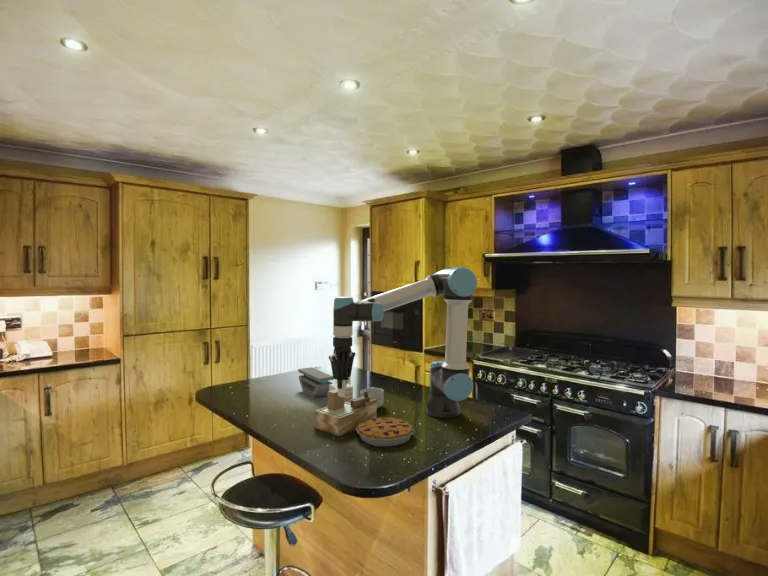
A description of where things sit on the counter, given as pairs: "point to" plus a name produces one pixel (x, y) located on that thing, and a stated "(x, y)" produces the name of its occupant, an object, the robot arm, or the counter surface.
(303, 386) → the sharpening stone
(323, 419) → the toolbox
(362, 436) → the pie
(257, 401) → the counter surface
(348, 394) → the ink box
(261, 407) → the counter surface
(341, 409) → the lid
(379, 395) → the teacup
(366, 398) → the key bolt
